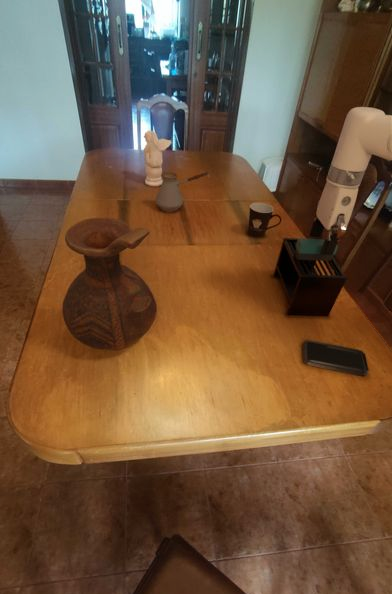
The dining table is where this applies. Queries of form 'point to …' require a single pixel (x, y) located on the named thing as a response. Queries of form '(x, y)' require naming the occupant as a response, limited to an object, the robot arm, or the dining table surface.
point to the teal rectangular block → (311, 250)
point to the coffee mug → (260, 219)
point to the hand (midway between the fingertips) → (320, 245)
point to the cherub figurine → (154, 158)
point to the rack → (307, 282)
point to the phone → (335, 358)
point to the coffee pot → (172, 191)
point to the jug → (107, 287)
